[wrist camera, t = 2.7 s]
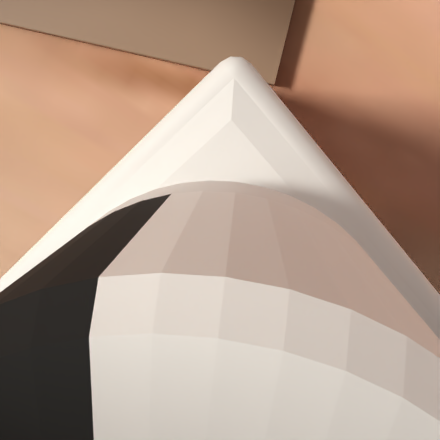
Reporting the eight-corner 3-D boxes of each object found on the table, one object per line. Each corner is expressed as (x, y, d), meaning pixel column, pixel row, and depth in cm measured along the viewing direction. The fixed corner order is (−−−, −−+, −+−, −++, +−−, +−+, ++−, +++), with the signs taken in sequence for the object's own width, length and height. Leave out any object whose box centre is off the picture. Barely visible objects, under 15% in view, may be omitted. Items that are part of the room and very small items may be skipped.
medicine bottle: (224, 331, 15) (165, 970, 4) (103, 210, 14) (-487, 628, 3) (364, 227, 14) (971, 829, 2) (241, 79, 12) (198, -267, 1)
